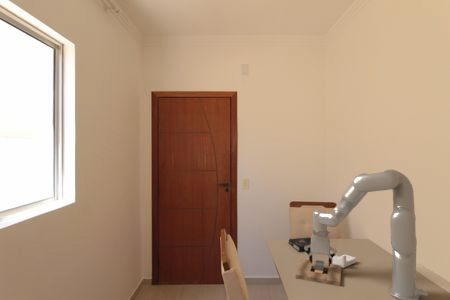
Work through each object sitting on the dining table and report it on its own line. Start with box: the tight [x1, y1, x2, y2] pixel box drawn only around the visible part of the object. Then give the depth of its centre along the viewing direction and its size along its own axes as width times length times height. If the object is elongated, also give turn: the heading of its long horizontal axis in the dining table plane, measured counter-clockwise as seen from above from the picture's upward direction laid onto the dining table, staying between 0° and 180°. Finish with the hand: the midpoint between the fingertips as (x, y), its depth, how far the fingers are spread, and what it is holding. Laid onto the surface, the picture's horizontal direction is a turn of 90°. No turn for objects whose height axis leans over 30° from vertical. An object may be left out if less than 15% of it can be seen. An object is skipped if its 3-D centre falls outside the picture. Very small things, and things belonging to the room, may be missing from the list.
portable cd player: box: [288, 237, 311, 253], centre depth 199 cm, size 16×17×4 cm
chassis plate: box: [295, 258, 342, 287], centre depth 159 cm, size 22×22×2 cm
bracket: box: [332, 252, 357, 269], centre depth 172 cm, size 13×7×8 cm, turn 125°
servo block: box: [314, 259, 325, 274], centre depth 159 cm, size 4×10×6 cm, turn 156°
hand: (320, 263), depth 159 cm, fingers open, 9 cm apart
